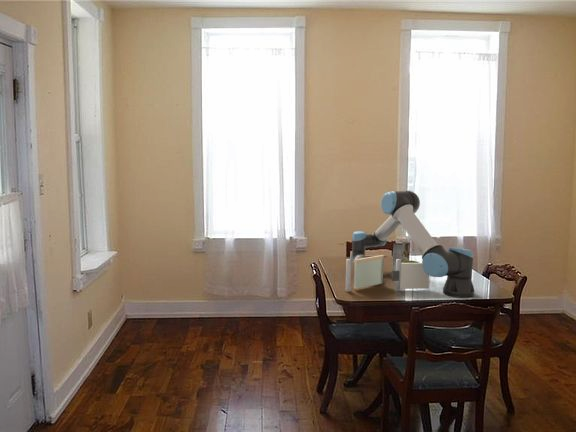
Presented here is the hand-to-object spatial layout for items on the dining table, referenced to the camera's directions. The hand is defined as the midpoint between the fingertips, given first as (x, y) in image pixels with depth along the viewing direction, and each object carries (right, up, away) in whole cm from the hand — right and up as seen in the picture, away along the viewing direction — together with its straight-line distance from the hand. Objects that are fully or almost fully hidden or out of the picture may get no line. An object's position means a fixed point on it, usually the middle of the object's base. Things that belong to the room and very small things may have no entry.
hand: (373, 272), depth 298 cm
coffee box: (+22, -3, +41) cm, 46 cm away
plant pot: (+23, -5, +21) cm, 32 cm away
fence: (+6, -9, -9) cm, 13 cm away
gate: (-3, -7, -3) cm, 8 cm away
